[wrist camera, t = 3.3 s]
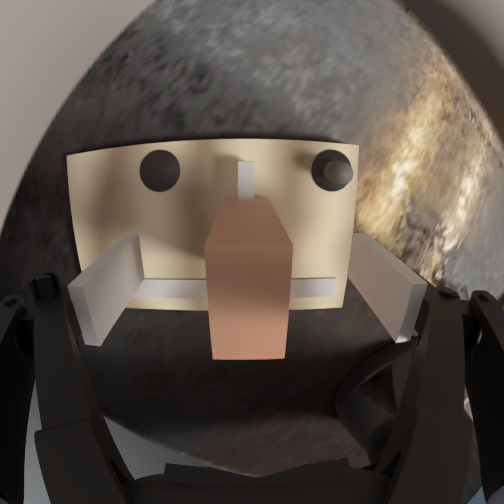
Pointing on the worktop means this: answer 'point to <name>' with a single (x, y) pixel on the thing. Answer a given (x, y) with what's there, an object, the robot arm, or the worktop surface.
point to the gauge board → (215, 211)
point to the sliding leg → (248, 276)
